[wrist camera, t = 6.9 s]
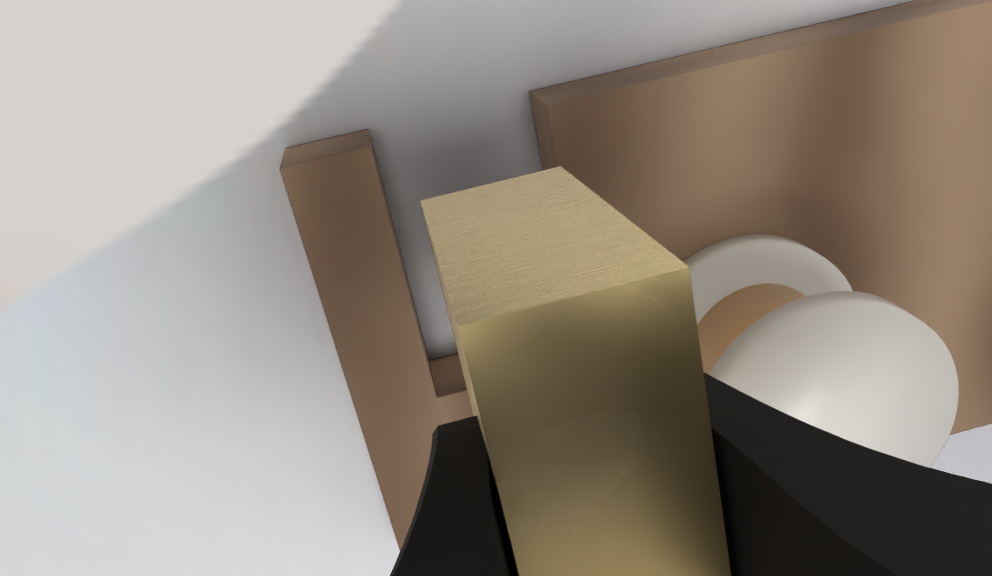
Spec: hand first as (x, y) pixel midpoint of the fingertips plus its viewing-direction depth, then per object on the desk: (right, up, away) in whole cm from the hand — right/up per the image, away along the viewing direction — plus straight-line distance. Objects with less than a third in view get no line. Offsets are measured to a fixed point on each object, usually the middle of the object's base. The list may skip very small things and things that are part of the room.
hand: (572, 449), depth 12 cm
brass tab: (-1, +2, +3) cm, 3 cm away
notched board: (+5, +3, +11) cm, 12 cm away
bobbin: (+5, +1, +9) cm, 11 cm away
